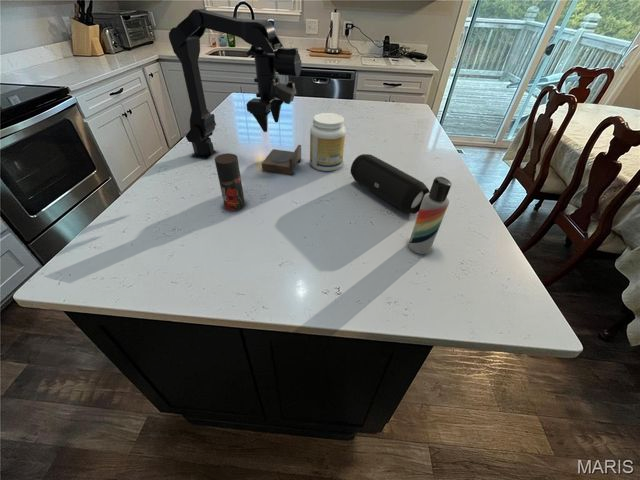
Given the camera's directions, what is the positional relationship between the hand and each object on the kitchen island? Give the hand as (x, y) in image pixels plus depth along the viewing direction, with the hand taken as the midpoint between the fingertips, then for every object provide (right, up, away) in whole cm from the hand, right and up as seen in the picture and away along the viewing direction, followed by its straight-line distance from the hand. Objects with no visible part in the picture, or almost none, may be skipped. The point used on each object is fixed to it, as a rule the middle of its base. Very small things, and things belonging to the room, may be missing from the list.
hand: (271, 126), depth 97 cm
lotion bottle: (+42, -39, -20) cm, 61 cm away
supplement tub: (+18, -9, +13) cm, 24 cm away
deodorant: (-9, -27, -9) cm, 30 cm away
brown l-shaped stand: (+2, -10, +10) cm, 15 cm away
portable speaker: (+37, -23, -2) cm, 44 cm away
